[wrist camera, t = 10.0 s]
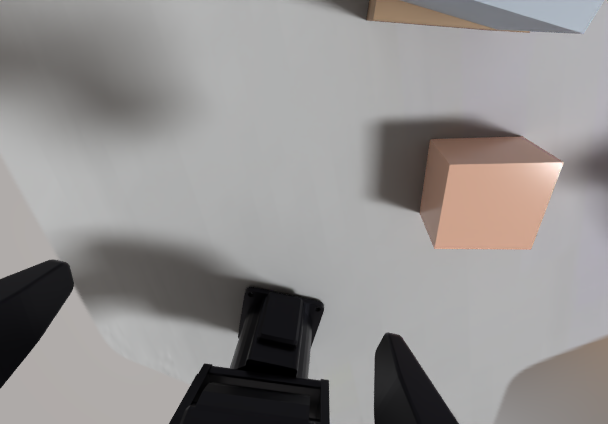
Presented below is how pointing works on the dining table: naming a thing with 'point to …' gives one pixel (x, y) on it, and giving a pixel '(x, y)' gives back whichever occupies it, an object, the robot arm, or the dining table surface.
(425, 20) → the walnut block
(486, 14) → the slate cube
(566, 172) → the dining table surface
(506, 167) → the terracotta cube
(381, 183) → the dining table surface
